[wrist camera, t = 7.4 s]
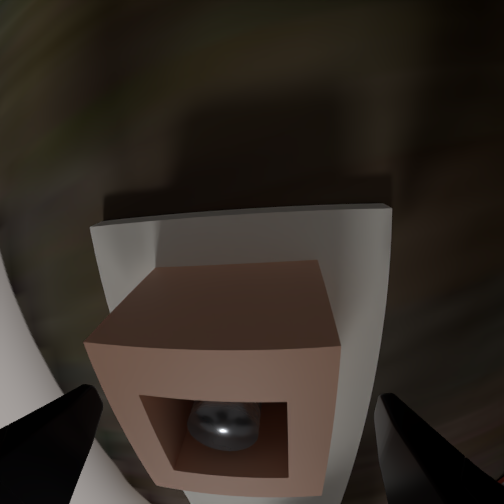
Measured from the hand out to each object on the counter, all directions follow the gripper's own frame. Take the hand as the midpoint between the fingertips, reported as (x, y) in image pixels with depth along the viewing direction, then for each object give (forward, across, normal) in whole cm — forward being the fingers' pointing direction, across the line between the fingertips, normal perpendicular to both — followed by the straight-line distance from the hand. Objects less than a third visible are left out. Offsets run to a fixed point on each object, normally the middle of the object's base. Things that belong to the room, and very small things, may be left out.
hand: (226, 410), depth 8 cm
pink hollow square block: (+4, 0, 0) cm, 4 cm away
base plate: (+5, 0, +6) cm, 8 cm away
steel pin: (+5, 0, 0) cm, 5 cm away
